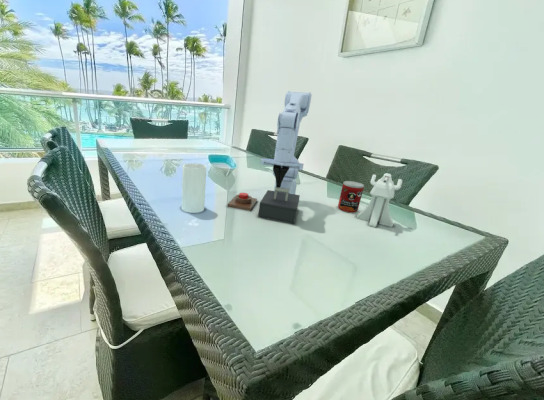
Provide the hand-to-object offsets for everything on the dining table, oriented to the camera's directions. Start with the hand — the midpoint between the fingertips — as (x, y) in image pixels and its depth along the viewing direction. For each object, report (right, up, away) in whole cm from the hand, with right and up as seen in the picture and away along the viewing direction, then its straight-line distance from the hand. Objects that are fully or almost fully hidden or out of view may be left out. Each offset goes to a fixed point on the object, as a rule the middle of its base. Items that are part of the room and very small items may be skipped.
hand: (278, 186), depth 98 cm
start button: (-12, -4, +10) cm, 16 cm away
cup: (-31, -8, +2) cm, 32 cm away
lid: (+1, -5, +3) cm, 6 cm away
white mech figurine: (+36, -13, +3) cm, 38 cm away
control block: (-12, -6, +10) cm, 17 cm away
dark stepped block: (+1, -10, +4) cm, 11 cm away
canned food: (+31, -9, +14) cm, 35 cm away
